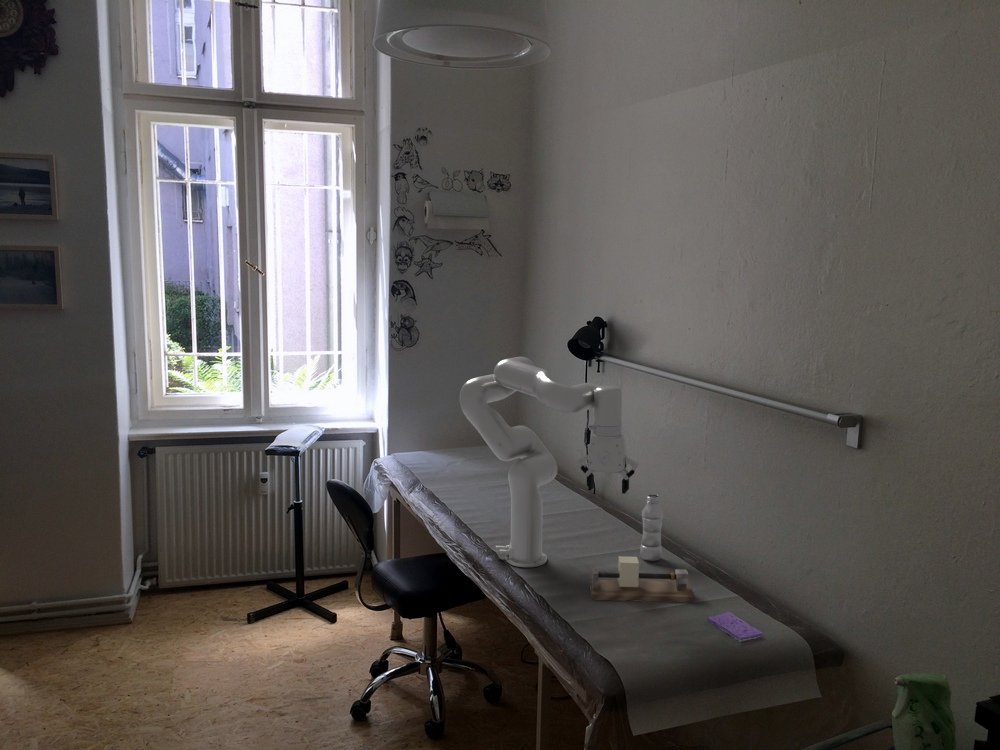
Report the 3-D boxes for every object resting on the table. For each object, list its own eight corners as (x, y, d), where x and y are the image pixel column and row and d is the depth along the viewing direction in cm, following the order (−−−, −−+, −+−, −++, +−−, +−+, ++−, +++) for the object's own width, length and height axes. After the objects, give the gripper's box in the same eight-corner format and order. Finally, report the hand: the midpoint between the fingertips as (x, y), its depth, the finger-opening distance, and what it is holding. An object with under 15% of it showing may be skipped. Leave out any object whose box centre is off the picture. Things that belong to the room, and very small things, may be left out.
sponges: (739, 644, 190) (740, 637, 190) (706, 622, 202) (706, 615, 201) (762, 639, 193) (763, 632, 193) (728, 618, 204) (729, 611, 204)
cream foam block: (619, 586, 215) (620, 562, 214) (617, 579, 220) (618, 556, 219) (638, 587, 215) (639, 563, 214) (635, 580, 220) (636, 556, 219)
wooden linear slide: (592, 599, 213) (593, 576, 212) (589, 584, 223) (590, 562, 222) (693, 602, 212) (694, 579, 211) (686, 586, 222) (687, 564, 221)
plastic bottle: (635, 557, 244) (637, 494, 241) (654, 554, 247) (657, 492, 244) (646, 564, 238) (649, 500, 235) (665, 561, 241) (668, 498, 238)
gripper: (573, 431, 220) (574, 491, 222) (635, 435, 213) (634, 497, 215) (581, 426, 227) (582, 484, 229) (641, 430, 220) (641, 490, 222)
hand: (607, 490), depth 222 cm, fingers open, 9 cm apart
